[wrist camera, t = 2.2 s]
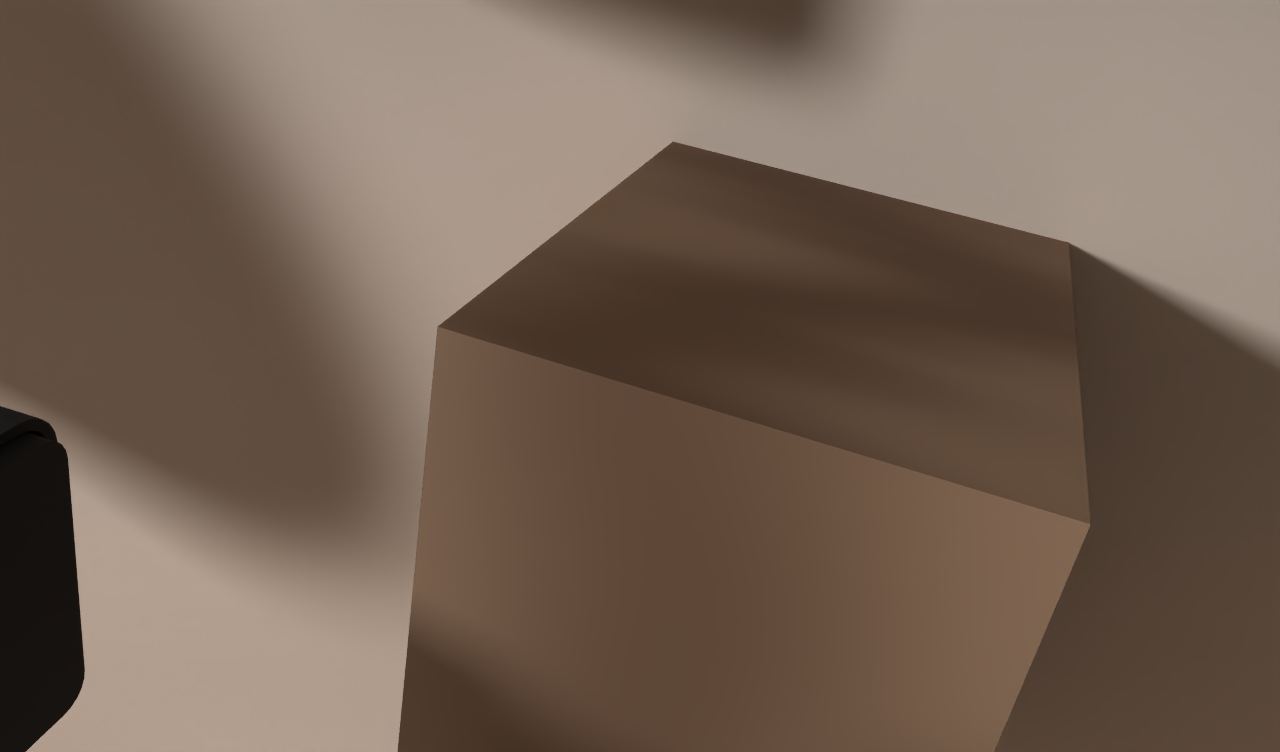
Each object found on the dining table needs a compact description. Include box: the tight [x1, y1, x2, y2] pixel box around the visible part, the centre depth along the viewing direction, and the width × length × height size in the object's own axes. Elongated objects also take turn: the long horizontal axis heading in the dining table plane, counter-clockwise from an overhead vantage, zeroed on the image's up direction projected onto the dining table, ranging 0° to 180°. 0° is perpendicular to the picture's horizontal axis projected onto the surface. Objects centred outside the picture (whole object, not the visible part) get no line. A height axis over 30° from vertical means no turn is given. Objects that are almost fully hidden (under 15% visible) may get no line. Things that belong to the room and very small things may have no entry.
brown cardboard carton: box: [398, 142, 1091, 752], centre depth 12 cm, size 4×7×6 cm, turn 170°
